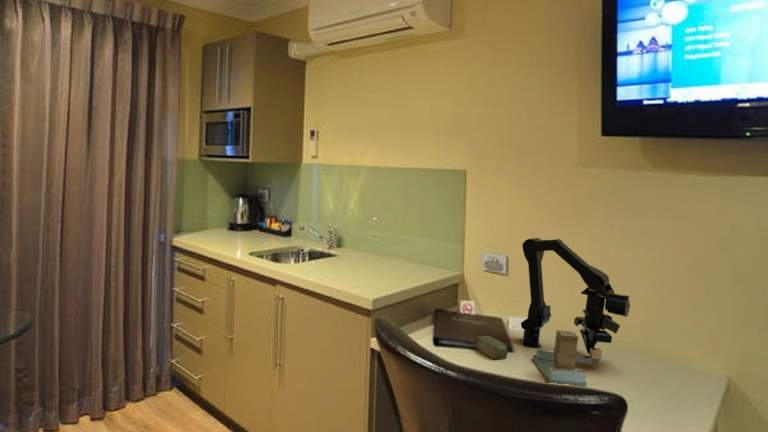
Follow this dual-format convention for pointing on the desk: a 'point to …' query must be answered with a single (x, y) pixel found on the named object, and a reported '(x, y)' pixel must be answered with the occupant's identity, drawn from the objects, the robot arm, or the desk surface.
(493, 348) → the stone block
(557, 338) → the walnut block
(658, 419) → the desk surface
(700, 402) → the desk surface
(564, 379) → the frosted green glass slab
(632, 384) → the desk surface
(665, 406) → the desk surface
